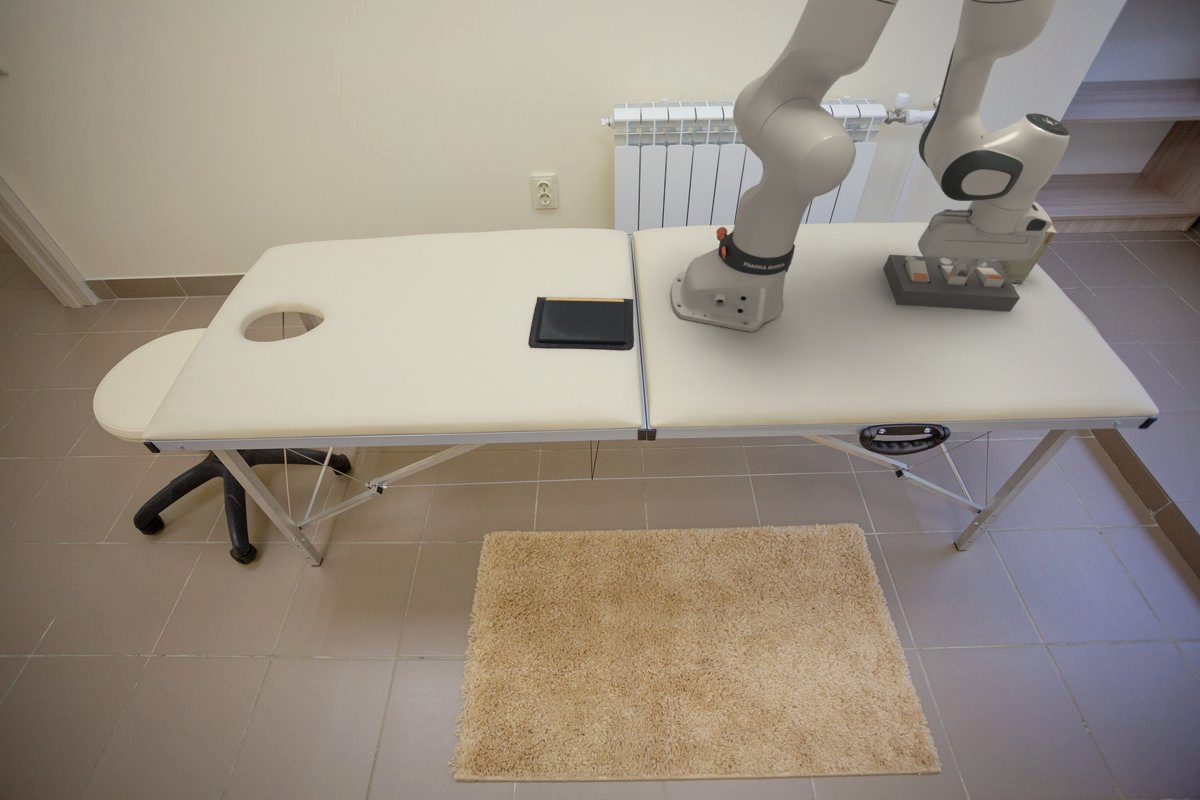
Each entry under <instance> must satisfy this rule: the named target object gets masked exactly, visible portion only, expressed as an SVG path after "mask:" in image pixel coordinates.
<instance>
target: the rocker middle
mask: <svg viewBox="0 0 1200 800" xmlns="http://www.w3.org/2000/svg"><path fill="white" fill-rule="evenodd" d="M952 268H953V266H945V265H941V266H940V271H941V273H942V276H943V278H944V280H945V282H946V284H949V285H965V282H966V280H967V278H968V277H967V276H953V275H952V273H951V270H952Z"/></svg>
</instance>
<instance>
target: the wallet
mask: <svg viewBox="0 0 1200 800" xmlns="http://www.w3.org/2000/svg"><path fill="white" fill-rule="evenodd" d="M536 298H537V299H536V303H535V306H534V310H533V315H532V319H531V325H530V330H529V336H528V346H529V348H530V349H547V350H548V349H549V350H551V349H552V350H553V349H554V350H555V349H557V350H560V349H561V350H563V349H564V350H567V349H568V350H570V349H571V350H595V351H596V350H599V351H600V350H601V351H602V350H603V351H604V350H605V351H620V352H621V351H631V350H632V349H633V348H634V344H635V334H634V333H635V331H634V329H635V328H634V299H633V298H601V297H600V298H596V297H595V298H594V297H592V298H591V297H590V298H589V297H554V296H553V297H552V296H551V297H549V296H548V297H547V296H546V297H545V296H537V297H536Z"/></svg>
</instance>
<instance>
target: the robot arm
mask: <svg viewBox="0 0 1200 800" xmlns="http://www.w3.org/2000/svg"><path fill="white" fill-rule="evenodd" d="M899 1H900V0H807V2H806V4H805V7H804V9H803V11H802V14H801V16H800V17H799V20H798V22H797V25H796V26H795V27H796V28H794V31H793V33H792V35H791V37H790V39H789V41H788V42H787V43H786V46H784V49H783V51H782V52H781V54H780V55H779V56H778V58H777V59H776V60H775V61H774V62H773V64H772V65H771V67H770V68H769V69H768V70H767V71H766V72H765V73H764V74H763V75H761V76H760V77H757V78H755V79H754V80H752V81H750V82H749V83H748V84H747V85H745V87H744V88H743V89H742V90H741V91H740V93H739V94H738V96H737V98H736V100H735V103H734V105H733V111H732V112H733V113H732V118H733V122H734V125H735V127H736V130H737V132H738V134H739V136H740V139H741V141H742V142H743V144H744V145H745V146H747V148H748V149H749V150H750V151H751V153H753V154H754V155H755V156H756V157H757V158H759V160H760V161H761V165H762V176H761V177H760V180H759V183H758V184H755V185H754V186H752V187H750V188H748V189H747V190H745V191H744V192H743V193H742V195H741V197H740V199H739V203H738V207H737V212H736V216H735V217H736V218H735V222H734V225H733V230H731V232H730V233H728V229H727V228H726V227H724V226H721V227H719V228H718V229H717V230H716V239H717V241H719V244H718V247H717V248H714V249H713V250H710V251H709V252H705V253H704V254H702V255H701V254H700V255H699V256H696V257H695V258H693V259H692V260H691V262H690V263H689V265H688V267H687V269H686V271H682V272H679V273H678V274H677V275H676V276H675V278H674V280H673V282H672V284H671V289H670V302H671V306H672V309H673V311H674V313H675V314H676V315H677V316H678V317H679V318H680V319H682V320H688V321H693V322H698V323H704V324H709V325H713V326H718V327H724V328H730V329H735V330H740V331H745V332H750V333H751V332H756V331H757V330H758V329H760V327H762V325H764V324H766V323H767V322H770V321H772V320H775V319H776V318H777V317H778V316H780V314H781V313H782V312H783V309H784V286H785V279H786V275H787V273H788V271H789V268H790V267H791V264H792V261H793V258H794V254H795V249H796V245H795V241H796V238H797V234H798V232H799V230H800V229H799V228H800V225H801V222H802V220H803V217H804V215H805V212H806V210H807V208H808V207H809V205H810V203H811V202H812V201H813V200H814V199H815V198H816V197H820V196H823V195H826V194H828V193H830V192H832V191H833V190H835V189H836V188H837V187H838V186H839V185H841V184H842V183H843V182H844V181H845V179H847V177H848V176H849V173H850V172H851V171H852V169H853V165H854V164H855V159H856V156H857V149H856V144H855V142H854V140H853V139H852V137H851V135H850V134H849V132H848V130H847V129H846V127H845V126H844V124H843V123H842V122H841V121H840V120H839V119H838V118H837V117H835V116H834V115H833V114H832V113H830V112H829V111H827V109H825V108H824V107H822V106H821V103H822V101H823V98H825V95H826V94H827V92H829V90H830V89H831V88H832V86H833V85H835V83H836V82H837V81H838V80H839V79H840V78H842V77H845V76H850V75H852V74H855V73H856V72H858V71H859V70H860V69H862V68H863V67H864V66H865V65H866V63H867V62H868V61H869V58H870V56H871V54H872V53H873V51H874V49H875V47H876V45H877V43H878V41H879V39H881V35H882V33H883V32H884V30H885V27H886V26H887V24H888V22H889V20H890V18H891V16H892V14H893V12H894V10H895V8H896V7H897V5H898V2H899ZM1056 1H1057V0H963V1H962V7H961V12H960V18H959V24H958V29H957V34H956V38H955V42H954V45H953V47H952V50H951V54H950V58H949V62H948V65H947V68H946V69H947V70H946V73H945V76H944V81H943V84H942V85H943V86H942V88H941V93H940V95H939V96H940V97H939V100H938V102H937V106H936V109H935V111H934V113H933V114H932V117H931V118H930V120H929V122H928V123H927V125H926V127H925V128H924V130H923V132H922V134H921V136H920V139H919V143H918V154H919V157H920V159H921V161H923V163H924V164H925V165H926V166H927V168H928V169H929V170H930V172H931V173H932V176H933V178H934V180H935V181H936V182H937V185H938V186H939V189H941V190H942V192H943V194H944V196H946V197H948V198H949V199H951V200H954V201H958V202H970V204H969V206H968V208H967V209H949V208H948V209H947V208H946V209H944V210H943V211H939V212H938V213H936V214H934V215H933V216H932V217H931V220H930V221H929V222H928V226H927V227H926V228H925V230H924V231H923V233H922V235H921V236H920V238H919V240H918V242H917V247H918V250H919V252H920V253H921V255H922V256H924V257H938V258H953V259H954V266H953V268H952V270H951V273H952V275H953V276H970V274H971V272H972V271H973V270H974V269H976V268H977V267H979V266H980V265H982V264H984V262H985V260H1003V261H1026V260H1028V259H1030V258H1032V257H1033V256H1034V254H1035V253H1036V252H1037V250H1038V248H1039V247H1040V245H1041V244H1042V242H1043V240H1044V238H1045V232H1044V231H1047V230H1048V229H1049V228H1050V227H1051V225H1053V221H1052V219H1051V217H1050V215H1048V213H1047V212H1046V210H1045V209H1044V208H1043V207H1042V206H1041V205H1040V204H1039V202H1036V197H1037V195H1038V192H1039V191H1040V190H1041V189H1042V188H1043V187H1044V186H1045V185H1047V183H1048V181H1049V180H1050V179H1051V177H1052V176H1053V174H1054V172H1055V170H1056V168H1057V167H1058V165H1059V164H1060V162H1061V160H1062V159H1063V156H1064V154H1065V152H1066V150H1067V148H1068V145H1069V141H1070V138H1071V137H1070V136H1071V135H1070V132H1069V131H1068V129H1067V128H1066V127H1065V125H1063V124H1062V122H1060V121H1059V120H1057V119H1055V118H1053V117H1051V116H1048V115H1045V114H1042V113H1027V114H1025V115H1024V116H1022V117H1021V118H1019V120H1017V121H1015V122H1014V123H1012V124H1010V125H1007V126H1005V127H1002V128H1001V129H998V130H995V131H992V132H988V131H987V130H986V128H985V126H984V123H983V121H982V117H981V114H980V107H981V106H980V105H981V102H982V99H983V96H984V93H985V91H986V88H987V84H988V82H989V79H990V75H991V71H992V68H993V67H994V63H995V62H996V60H998V59H1003V58H1005V57H1006V58H1007V57H1008V56H1012V55H1015V54H1016V53H1018V52H1020V51H1022V50H1023V49H1025V48H1027V47H1028V46H1029V45H1030V44H1032V43H1033V42H1034V41H1035V40H1036V39H1037V38H1039V37H1040V35H1041V34H1042V32H1044V28H1046V25H1047V23H1048V21H1049V19H1050V17H1051V15H1052V13H1053V10H1054V7H1055V4H1056ZM966 259H972V260H971V261H970V262H969V263H967V264H961V262H964V261H965V260H966Z"/></svg>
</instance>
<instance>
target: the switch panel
mask: <svg viewBox="0 0 1200 800" xmlns="http://www.w3.org/2000/svg"><path fill="white" fill-rule="evenodd" d="M908 260H917V261H925V264H926V268H927V273H928V277H929V282H928V283H914V282H910V279H909V277H908V275H907V272H906V270H905V265H906V263H907V262H908ZM971 260H972V259H966V260H965V261H964V262H961V264H967V263H969V262H970V261H971ZM941 265H945V266H954V259H953V258H938V257H924V256H923V255H922V256H921V255H920V256H919V255H906V254H905V255H901V254H889V255H888V257H887V259H886V261H885V263H884V265H883V267H882V269H883V272H884V274H885V278H886V279H887V282H888V285H889V287H890V290H891V293H892V295H893V298H894V301H895V303H896V305H897V306H913V307H927V308H929V307H930V308H944V309H945V308H948V309H962V310H963V309H965V310H966V309H967V310H979V311H980V310H981V311H996V312H1011V311H1012V309H1013V308H1014V307H1015V305H1016V304H1017V303H1018V301H1019V300H1020V299H1021V297H1020V295H1019V294H1018V292H1017V290H1016V288H1015V287H1014V285H1013V282H1010V280H1009V278H1008V277H1007V275H1006V273H1005V272H1004V270H1003V268H1002V267H1001V265H1000V263H999V262H998V261H997V260H985V262H984V264H982V265H980V266H979V267H981V268H993V269H994V270H995V271H996V272H997V273H998V274H999V275H1000V276H1001V277H1002V278H1004V281H1003V283H1002V285H1001V287H984V286H983V285H982V283H981V282H980V280H979V278H978V276H977V274H976V272H975V269H974V270H973V271H972V272H971V274H970V276H967V277H968V278H967V280H966V282H965V285H949V284H946V282H945V280H944V278H943V276H942V273H941V271H940V266H941Z"/></svg>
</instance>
